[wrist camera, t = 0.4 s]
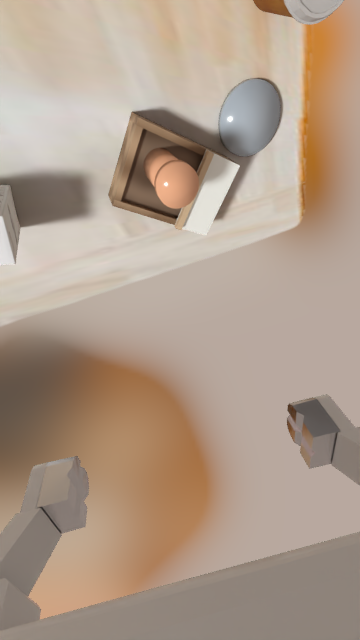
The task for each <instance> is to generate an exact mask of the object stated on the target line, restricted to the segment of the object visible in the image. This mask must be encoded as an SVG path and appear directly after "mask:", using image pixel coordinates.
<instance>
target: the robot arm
mask: <svg viewBox="0 0 360 640" xmlns="http://www.w3.org/2000/svg"><path fill="white" fill-rule="evenodd" d="M288 412H289V414H290V415H289V416H288V418H287V426H288V430H289V433H290V435H291V437H292V439H293V441H294V442H295V443H296V444H298V445H299V446H301V449H300V453H301V455H302V457H303V458H304V460H305V462H306V464H307V465H308V467H309V468H314V467H319V466H323V465H327V464H332V466H334V467H335V468H336V469H338V470H339V471H341V472H342V473H343V474H345V475H346V476H347V477H349V478H350V479H352V480H353V481H354V482H356V483H357V484H358V485H360V427H357V428H355V426H354V425H353V424H352V423H351V422H350V420H349V419H348V418H347V417H346V415H345V414H344V413H343V412H342V411H341V409H340V408H339V407H338V406H337V405H336V403H335V402H334V401H333V400H332V399H331V397H330V396H329V395H322V396H318V397H314V398H313V397H312V398H309V399H305V400H301V401H297V402H293V403H289V405H288ZM88 491H89V482H88V476H87V472H86V470H85V469H84V468H82V467H80V460H79V458H78V456H75V457H71V458H66V459H61V460H57V461H52V462H48V463H44V464H39V465H36V466H34V467H33V469H32V471H31V474H30V478H29V482H28V486H27V489H26V493H25V496H24V500H23V504H22V507H21V511H20V513H17V514H15V516H14V517H13V518H12V519H11V521H10V522H9V523H8V525H7V526H6V527H5V528H4V530H3V531H2V532H1V534H0V640H360V532H357V533H353V534H350V535H346V536H342V537H339V538H335V539H331V540H328V541H324V542H321V543H317V544H314V545H310V546H306V547H303V548H299V549H295V550H291V551H288V552H285V553H281V554H277V555H273V556H270V557H266V558H263V559H259V560H255V561H251V562H248V563H244V564H241V565H237V566H233V567H230V568H226V569H223V570H219V571H215V572H212V573H208V574H204V575H200V576H197V577H193V578H189V579H186V580H182V581H179V582H175V583H172V584H168V585H164V586H161V587H157V588H153V589H149V590H146V591H142V592H139V593H135V594H131V595H128V596H124V597H120V598H117V599H113V600H110V601H106V602H102V603H99V604H95V605H91V606H88V607H84V608H81V609H77V610H73V611H70V612H66V613H63V614H59V615H55V616H51V617H48V618H44V619H41V620H39V619H40V612H41V609H40V607H39V606H38V605H37V604H36V603H35V602H34V601H32V600H31V599H30V598H29V597H28V596H29V594H30V592H31V590H32V588H33V586H34V584H35V583H36V581H37V579H38V577H39V576H40V574H41V572H42V570H43V568H44V567H45V565H46V563H47V561H48V559H49V557H50V556H51V554H52V552H53V550H54V548H55V546H56V545H57V543H58V541H59V539H60V537H61V536H62V535H61V534H62V533H65V532H69V531H72V530H76V529H79V528H82V527H85V525H86V514H87V506H86V504H85V503H84V500H85V499H86V497H87V496H88Z"/></svg>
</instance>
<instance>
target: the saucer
mask: <svg viewBox="0 0 360 640" xmlns="http://www.w3.org/2000/svg"><path fill="white" fill-rule="evenodd" d="M279 119H280V100H279V96H278V94H277V92H276V90H275V88H274V87H273V86H272V85H271V84H270V83H269V82H267V81H265V80H262V79H248V80H245V81H243V82H241V83H239V84H238V85H237V86H235V87H234V88H233V89H232V90H231V92H230V93H229V94H228V96H227V97H226V99H225V101H224V103H223V105H222V108H221V111H220V115H219V134H220V138H221V140H222V143H223V144H224V146H225V147H226V148H227V149H228V150H229V151H230V152H232V153H234V154H236V155H238V156H250V155H253V154H256V153H257V152H259V151H261V150H262V149H263V148H264V147H265V146H266V145H267V144H268V143H269V142H270V140H271V139H272V137H273V135H274V134H275V131H276V129H277V126H278V123H279Z"/></svg>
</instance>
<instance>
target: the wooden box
mask: <svg viewBox="0 0 360 640" xmlns="http://www.w3.org/2000/svg"><path fill="white" fill-rule="evenodd" d="M155 148H164V149H166V150H168V151H169V152H170V153H172V154H173V155H174V156H175V157H176V158H177V159H178V160H182V161H184V162H186V163H188V164H189V165H190V166H191V167H192V168H193V169H194V170H195V171H196V173H197V171H198V168H199V166H200V163H201V161H202V159H203V156H204V154H205V151H206V149H207V150H209V151H211V152H213V153H215V154H217V155H219V156H221V157H223V158H226V159H228V160H230V159H229V158H227V157H226V156H223V155H221V154H219V153H217V152H215V151H213V150H211V149H209V148H207V147H205V146H203V145H200V144H198V143H196V142H194V141H192V140H190V139H188V138H186V137H184V136H182V135H179V134H177V133H175V132H173V131H171V130H169V129H167V128H165V127H163V126H161V125H158V124H156V123H154V122H152V121H150V120H148V119H146V118H144V117H142V116H140V115H137V114H135V113H133V112H132V113H131V116H130V120H129V123H128V127H127V131H126V134H125V138H124V141H123V145H122V148H121V152H120V155H119V159H118V163H117V166H116V170H115V173H114V177H113V180H112V184H111V187H110V191H109V198H110V200H111V203H112V205H113V206H115V207H118V208H122V209H125V210H128V211H131V212H135V213H138V214H141V215H144V216H148V217H151V218H154V219H157V220H161V221H164V222H167V223H170V224H174V225H175V223H176V221H177V218H178V216H179V214H180V211H181V209H182V208H178V209H174V208H170V207H168V206H166V205H165V204H163V202H162V201H161V200H160V199H159V197H158V196H157V194H156V191H155V187H154V186H153V184H152V183H151V182H150V180H149V179H148V178H147V176H146V175H145V172H144V167H143V165H144V160H145V157H146V156H147V154H148V153H149V152H150V151H151V150H153V149H155ZM230 161H232V160H230ZM232 162H233V161H232ZM234 163H235V162H234ZM236 164H237V163H236Z"/></svg>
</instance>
